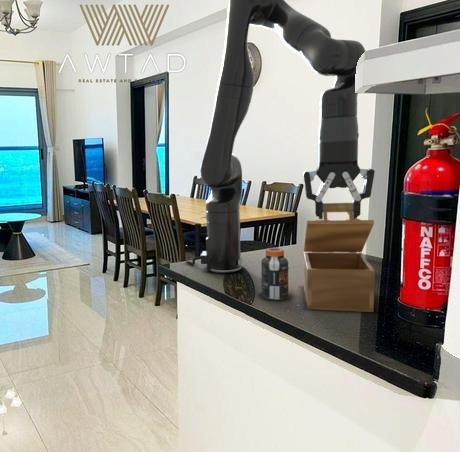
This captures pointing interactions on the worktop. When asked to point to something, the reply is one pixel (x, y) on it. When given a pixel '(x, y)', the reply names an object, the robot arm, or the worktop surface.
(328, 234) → the lid
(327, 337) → the worktop surface
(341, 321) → the worktop surface
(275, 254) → the pill bottle
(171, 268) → the worktop surface
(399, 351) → the worktop surface
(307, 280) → the chest
